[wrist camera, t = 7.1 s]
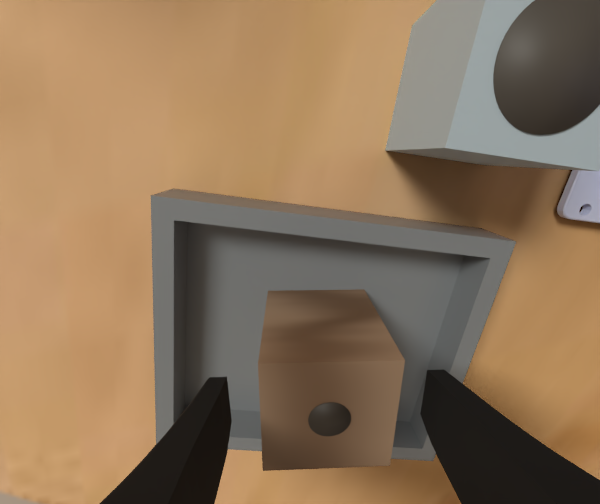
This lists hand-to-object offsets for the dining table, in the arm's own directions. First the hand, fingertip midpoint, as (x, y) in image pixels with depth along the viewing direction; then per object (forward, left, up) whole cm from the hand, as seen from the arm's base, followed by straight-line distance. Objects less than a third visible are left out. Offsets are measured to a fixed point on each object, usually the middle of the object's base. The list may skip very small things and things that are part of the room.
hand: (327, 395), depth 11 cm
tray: (0, 0, -5) cm, 5 cm away
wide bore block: (-4, -11, -5) cm, 13 cm away
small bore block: (0, 0, -4) cm, 4 cm away
